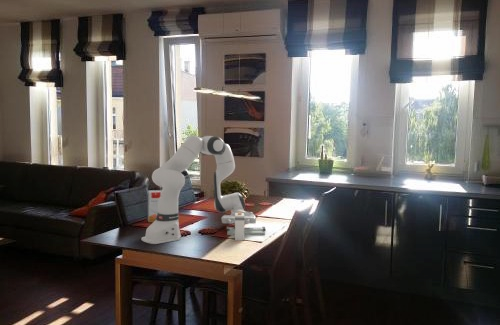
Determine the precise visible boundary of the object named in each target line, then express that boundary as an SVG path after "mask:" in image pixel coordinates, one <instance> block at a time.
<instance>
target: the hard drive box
mask: <svg viewBox="0 0 500 325" xmlns="http://www.w3.org/2000/svg"><path fill="white" fill-rule="evenodd" d="M162 190H163V189H161V190H159V189H158V190H154V189H153V190H150V189H149V190H147V222H148V223H153V222H154V221H155V220H156V218H153V216H152V215H153V214H156V215H157V214H158V200H159V198H160V196H161V194H162Z"/></svg>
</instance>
